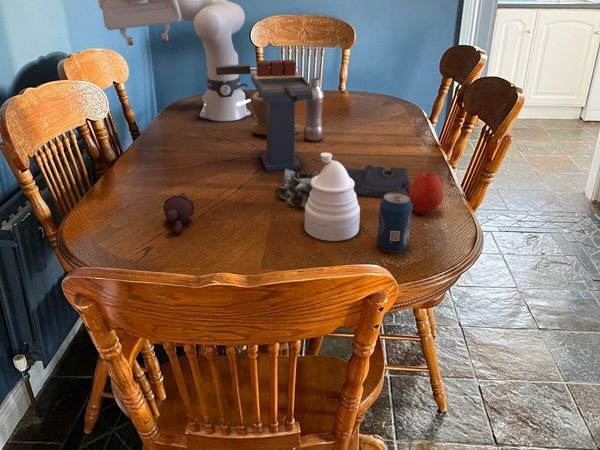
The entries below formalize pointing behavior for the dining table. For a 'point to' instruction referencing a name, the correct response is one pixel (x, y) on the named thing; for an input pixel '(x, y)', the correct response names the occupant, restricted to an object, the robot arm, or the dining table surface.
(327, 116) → the dining table surface
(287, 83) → the steel pan
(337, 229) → the honey pot
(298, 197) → the foil
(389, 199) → the soda can
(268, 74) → the beef skewer
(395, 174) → the dark slate chunk
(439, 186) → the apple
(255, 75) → the cutting board
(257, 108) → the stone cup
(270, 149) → the stand
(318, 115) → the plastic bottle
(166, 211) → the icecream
